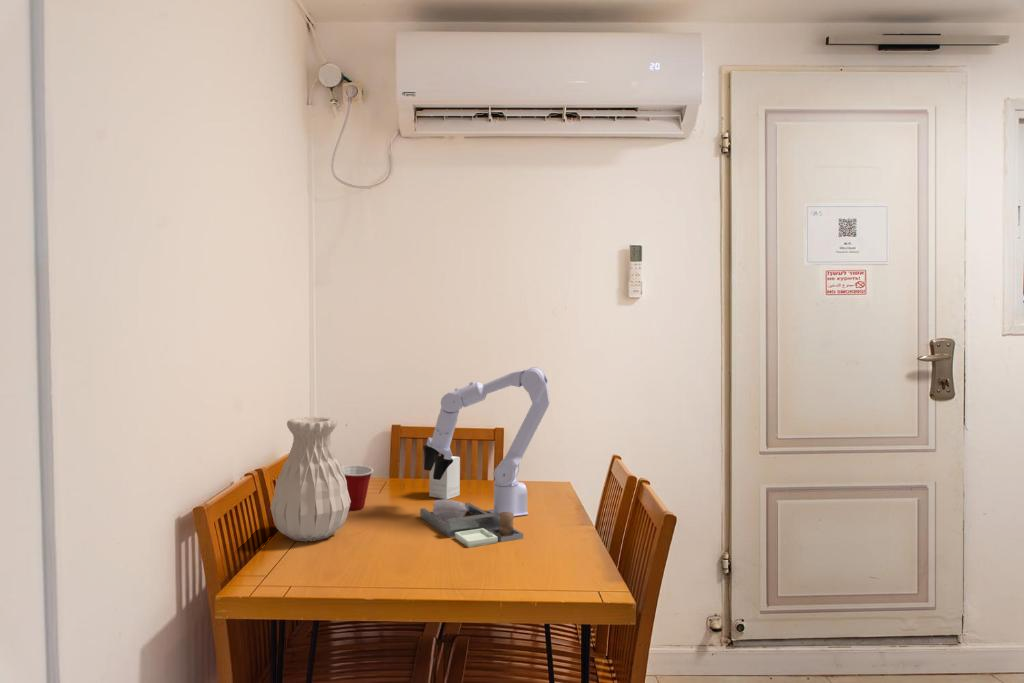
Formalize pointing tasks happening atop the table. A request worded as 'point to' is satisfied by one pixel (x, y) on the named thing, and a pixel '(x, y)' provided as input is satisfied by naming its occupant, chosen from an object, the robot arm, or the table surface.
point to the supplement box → (446, 481)
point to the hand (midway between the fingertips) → (431, 474)
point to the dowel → (506, 523)
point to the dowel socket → (513, 536)
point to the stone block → (448, 509)
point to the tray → (476, 537)
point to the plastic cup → (357, 484)
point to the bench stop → (463, 521)
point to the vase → (310, 484)
